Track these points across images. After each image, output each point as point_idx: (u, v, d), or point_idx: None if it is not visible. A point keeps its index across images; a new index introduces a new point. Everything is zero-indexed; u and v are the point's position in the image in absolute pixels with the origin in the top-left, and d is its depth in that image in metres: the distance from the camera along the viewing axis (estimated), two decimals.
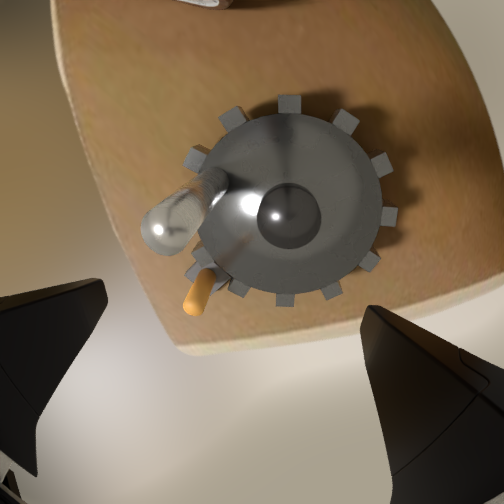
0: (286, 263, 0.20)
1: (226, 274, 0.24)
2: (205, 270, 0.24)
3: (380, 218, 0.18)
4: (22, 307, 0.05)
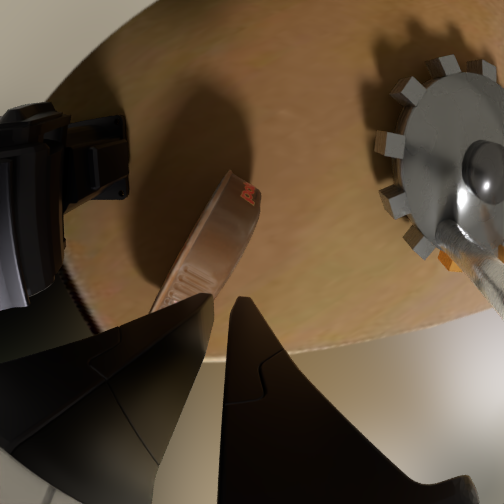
0: None
1: None
2: None
3: (491, 80, 0.10)
4: (158, 343, 0.05)
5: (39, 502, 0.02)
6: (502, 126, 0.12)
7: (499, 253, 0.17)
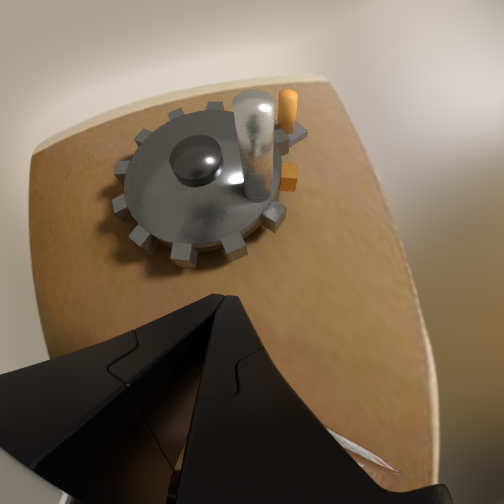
0: (208, 130, 0.23)
1: None
2: (285, 132, 0.25)
3: (128, 165, 0.22)
4: (176, 346, 0.05)
5: None
6: (163, 151, 0.22)
7: (282, 126, 0.24)
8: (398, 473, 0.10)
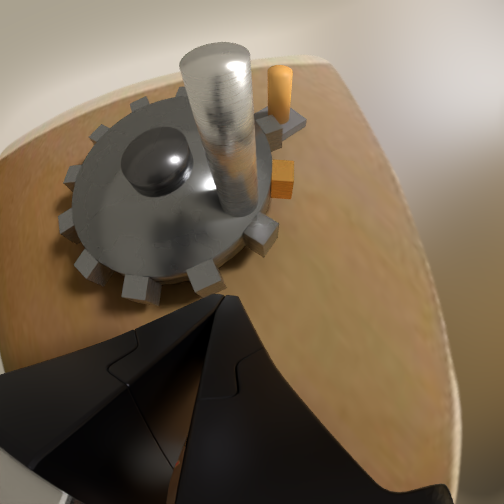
0: (176, 121, 0.17)
1: (255, 118, 0.20)
2: (278, 121, 0.19)
3: (79, 171, 0.16)
4: (176, 346, 0.05)
5: None
6: (119, 151, 0.16)
7: (274, 113, 0.18)
8: None
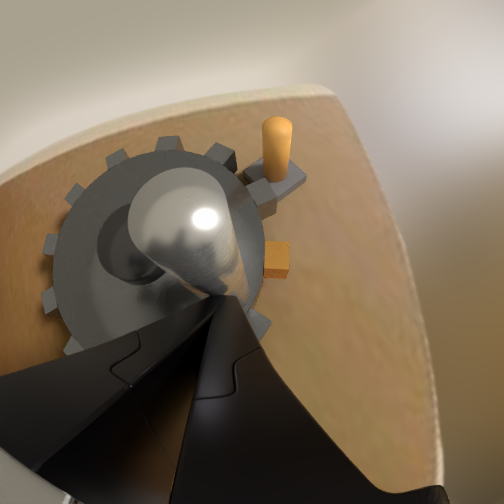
0: None
1: (248, 174, 0.18)
2: (274, 179, 0.18)
3: (57, 241, 0.15)
4: (179, 347, 0.05)
5: None
6: (96, 222, 0.15)
7: (270, 172, 0.17)
8: None
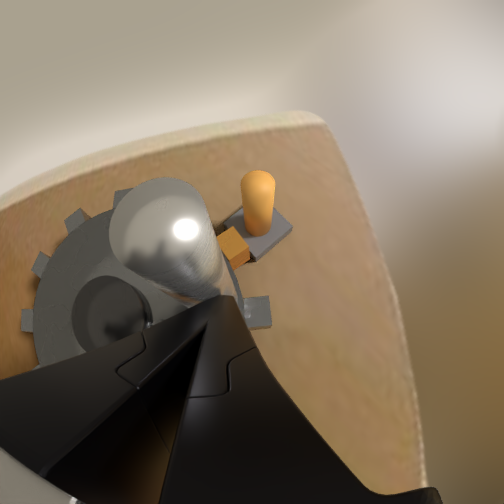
0: (90, 261, 0.14)
1: (229, 227, 0.17)
2: (257, 234, 0.17)
3: None
4: (185, 348, 0.05)
5: None
6: (63, 328, 0.13)
7: (251, 227, 0.16)
8: None
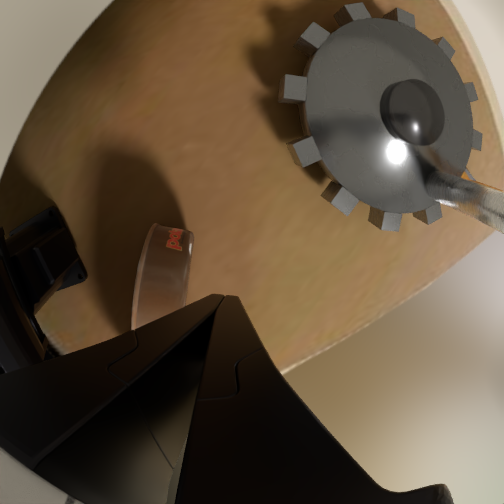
0: (431, 74, 0.13)
1: None
2: None
3: (326, 39, 0.12)
4: (176, 346, 0.05)
5: None
6: (377, 57, 0.12)
7: None
8: None
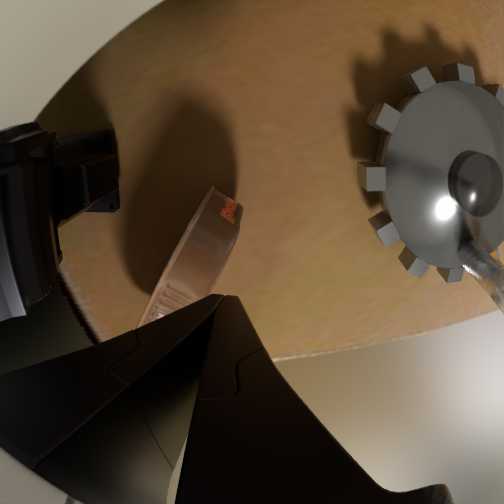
0: (503, 156, 0.12)
1: None
2: None
3: (431, 87, 0.12)
4: (177, 346, 0.05)
5: None
6: (466, 122, 0.12)
7: None
8: None
